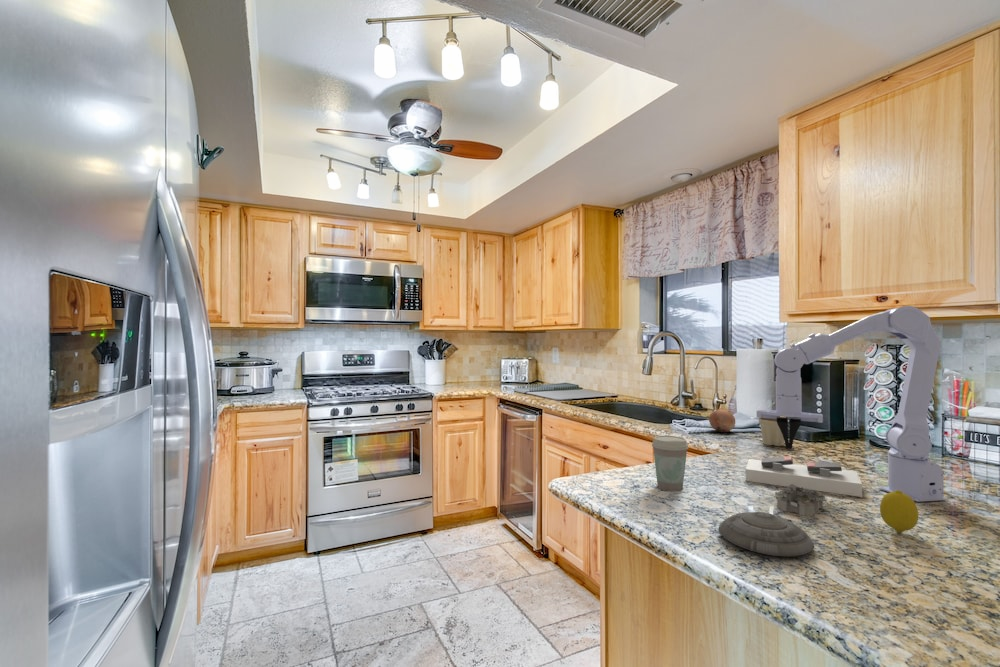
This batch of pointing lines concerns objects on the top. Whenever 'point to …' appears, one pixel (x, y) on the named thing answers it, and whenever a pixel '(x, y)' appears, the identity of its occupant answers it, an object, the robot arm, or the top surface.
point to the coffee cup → (670, 461)
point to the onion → (722, 420)
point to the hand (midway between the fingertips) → (788, 447)
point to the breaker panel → (805, 477)
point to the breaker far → (777, 461)
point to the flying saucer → (766, 534)
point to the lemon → (899, 511)
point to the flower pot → (771, 432)
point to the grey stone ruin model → (799, 500)
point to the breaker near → (824, 466)
